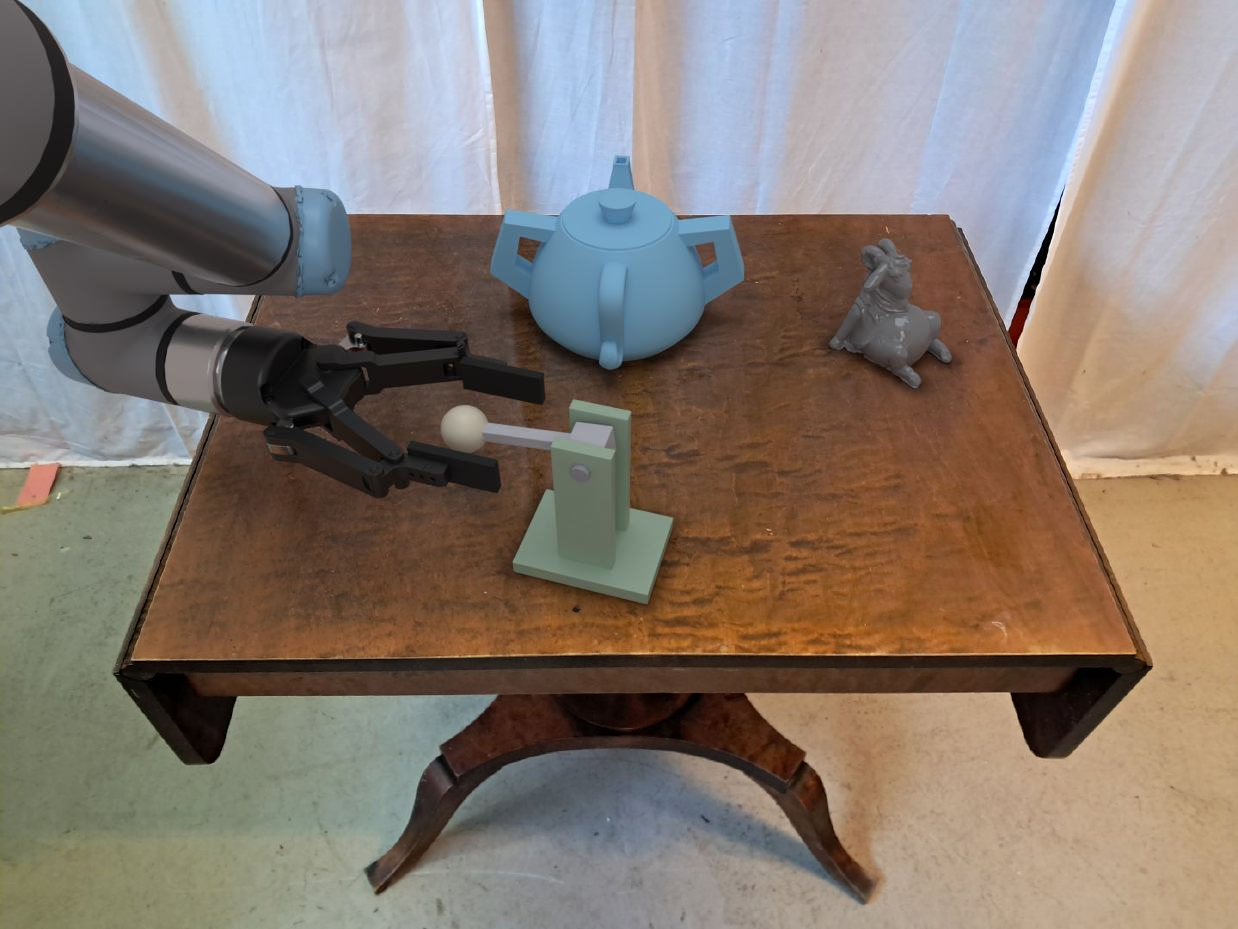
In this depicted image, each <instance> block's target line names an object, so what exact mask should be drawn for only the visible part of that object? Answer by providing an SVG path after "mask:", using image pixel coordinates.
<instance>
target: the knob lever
mask: <svg viewBox="0 0 1238 929" xmlns="http://www.w3.org/2000/svg"><path fill="white" fill-rule="evenodd" d="M440 436H441V438H442V441H443V442H444V443H445V445H446V446H447V447H448V449H452V450H457V451H461V452H466V453H470V454H472V453H474V452H476V451H478V450H480V449H481V448H482V447H483V446H484V445H485V444H486V442H487V443H493V444H501V445H507V446H515V447H520V448H521V447H522V448H529V449H535V450H536V449H537V450H544V451H551V444H552V442H553V440H554V438H555V437H558V438H562V439H567V440H572V441H576V442H581V443H586V444H590V445H595V446H600V447H604V448H609V449H614V450H615V453H616V443H615V436H614V430H613V426H607V425H599V424H591V423H583V422H576V424H575V426H574V428H573V430H572V432H571V433H570V432H562V431H554V430H548V429H547V430H546V429H540V428H532V427H525V426H518V425H509V424H502V423H494V422H489V420H488V418H487V416H486V415H485V413H484V412H483V411H481V410H480V409H479V408H478V407H476V406H472V405H469V404H460V405H457V406H454V407H452V408H450V409H449V410H447V412H446V413H445V414H444V416H443V417H442V419H441V423H440Z"/></svg>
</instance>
